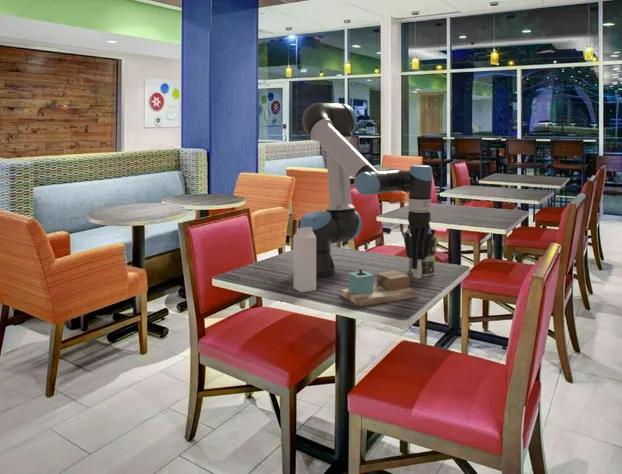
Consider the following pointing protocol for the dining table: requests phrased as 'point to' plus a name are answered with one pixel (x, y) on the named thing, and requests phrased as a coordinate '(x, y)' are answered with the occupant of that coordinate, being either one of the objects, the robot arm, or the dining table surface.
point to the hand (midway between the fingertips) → (416, 277)
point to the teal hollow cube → (361, 283)
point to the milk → (304, 259)
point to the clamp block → (393, 280)
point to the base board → (378, 295)
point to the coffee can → (426, 261)
